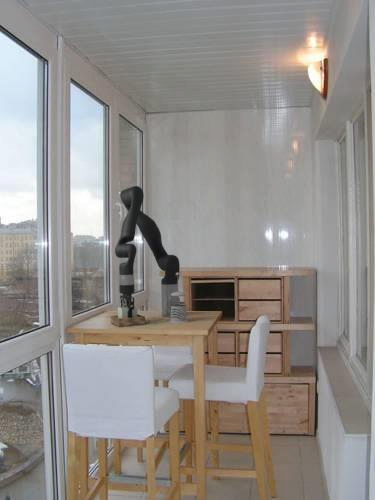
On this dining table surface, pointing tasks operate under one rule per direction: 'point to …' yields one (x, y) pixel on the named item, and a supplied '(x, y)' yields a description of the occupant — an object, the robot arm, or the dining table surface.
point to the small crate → (126, 312)
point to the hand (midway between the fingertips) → (127, 317)
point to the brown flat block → (128, 321)
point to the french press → (178, 317)
